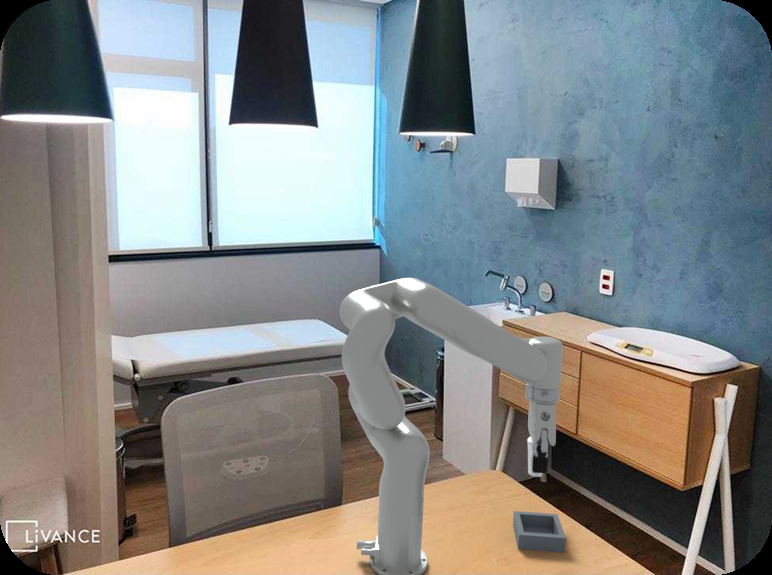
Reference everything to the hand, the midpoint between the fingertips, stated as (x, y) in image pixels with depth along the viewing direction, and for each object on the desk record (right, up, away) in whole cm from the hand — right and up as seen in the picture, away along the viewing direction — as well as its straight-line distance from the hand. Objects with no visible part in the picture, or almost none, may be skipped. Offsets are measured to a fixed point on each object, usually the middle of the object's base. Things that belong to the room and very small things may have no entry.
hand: (537, 466), depth 151 cm
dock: (+1, -18, +3) cm, 18 cm away
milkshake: (0, -2, 0) cm, 2 cm away
